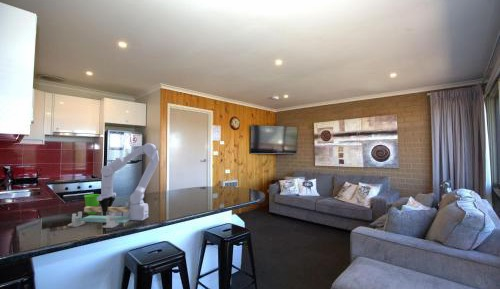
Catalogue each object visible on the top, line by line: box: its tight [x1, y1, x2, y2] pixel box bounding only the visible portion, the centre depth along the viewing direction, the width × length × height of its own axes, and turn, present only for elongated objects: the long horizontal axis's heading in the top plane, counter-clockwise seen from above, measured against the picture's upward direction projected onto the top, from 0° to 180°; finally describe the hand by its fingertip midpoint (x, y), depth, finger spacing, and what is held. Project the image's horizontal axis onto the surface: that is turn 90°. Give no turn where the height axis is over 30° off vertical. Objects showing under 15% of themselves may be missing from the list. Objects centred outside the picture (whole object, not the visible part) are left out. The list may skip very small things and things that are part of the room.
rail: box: [83, 206, 130, 213], centre depth 138 cm, size 24×2×2 cm, turn 88°
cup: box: [83, 193, 101, 215], centre depth 152 cm, size 9×9×11 cm
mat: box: [82, 215, 130, 224], centre depth 138 cm, size 26×10×1 cm, turn 88°
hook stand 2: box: [101, 212, 120, 229], centre depth 127 cm, size 5×6×6 cm
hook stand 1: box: [67, 211, 87, 228], centre depth 128 cm, size 5×6×6 cm
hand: (106, 211), depth 138 cm, fingers closed on rail, 2 cm apart
